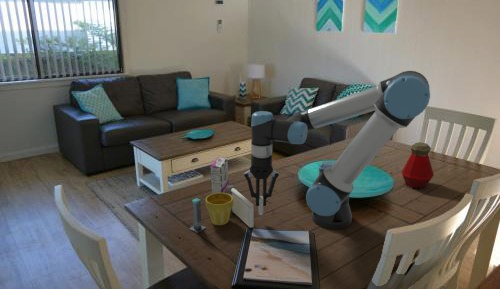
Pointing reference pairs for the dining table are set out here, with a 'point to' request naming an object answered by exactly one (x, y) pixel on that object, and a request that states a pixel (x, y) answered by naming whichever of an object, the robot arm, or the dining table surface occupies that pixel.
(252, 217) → the white rounded panel
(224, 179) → the candy bar box
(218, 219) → the plant pot
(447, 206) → the dining table surface
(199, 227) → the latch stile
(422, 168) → the bottle
